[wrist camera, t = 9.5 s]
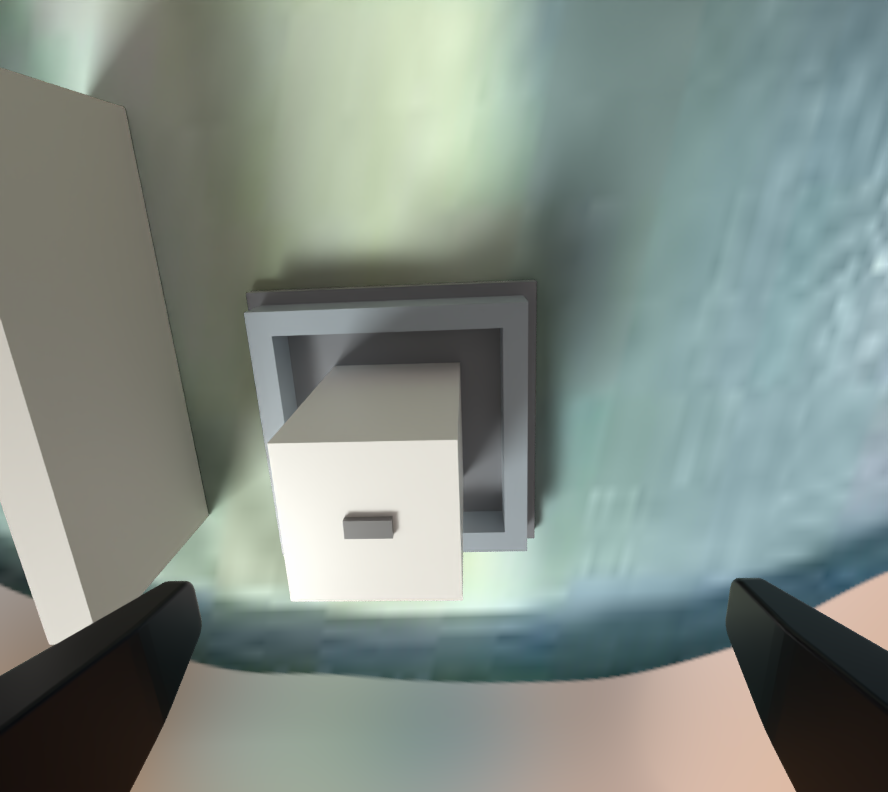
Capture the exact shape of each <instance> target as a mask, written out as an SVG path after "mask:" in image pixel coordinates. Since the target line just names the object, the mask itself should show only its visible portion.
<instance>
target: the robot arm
mask: <svg viewBox="0 0 888 792" xmlns="http://www.w3.org/2000/svg"><path fill="white" fill-rule="evenodd" d="M201 627H202V620H201V615H200V611H199V606H198V602H197V598H196V594H195V589H194V586H193V585H192V584H191V583H190V582H188V581H167V582H164V583H162V584H160V585H159V586H157V587H155V588H153V589H152V590H150V591H148V592H146V593H145V594H143V595H141V596H139V597H138V598H136V599H134V600H132V601H131V602H129V603H127V604H125V605H124V606H122V607H120V608H118V609H117V610H115V611H113V612H111V613H110V614H108V615H106V616H104V617H103V618H101V619H99V620H97V621H96V622H94V623H92V624H90V625H89V626H87V627H85V628H83V629H82V630H80V631H78V632H76V633H75V634H73V635H71V636H69V637H68V638H66V639H64V640H62V641H61V642H59V643H57V644H55V645H54V646H52V647H50V648H48V649H46V650H45V651H43V652H41V653H39V654H38V655H36V656H34V657H33V658H31V659H29V660H27V661H25V662H24V663H22V664H20V665H18V666H17V667H15V668H13V669H11V670H10V671H8V672H6V673H4V674H3V675H1V676H0V792H130V790H131V788H132V787H133V785H134V782H135V781H136V779H137V777H138V775H139V773H140V771H141V769H142V767H143V765H144V763H145V761H146V759H147V757H148V755H149V753H150V751H151V749H152V747H153V745H154V743H155V741H156V739H157V737H158V735H159V733H160V731H161V729H162V727H163V725H164V723H165V720H166V718H167V716H168V714H169V711H170V709H171V707H172V704H173V702H174V699H175V696H176V694H177V691H178V689H179V686H180V684H181V681H182V679H183V676H184V674H185V671H186V669H187V666H188V664H189V661H190V659H191V656H192V654H193V651H194V649H195V646H196V644H197V641H198V638H199V636H200V632H201ZM726 630H727V634H728V637H729V639H730V642H731V644H732V647H733V650H734V652H735V655H736V657H737V660H738V662H739V665H740V668H741V670H742V673H743V675H744V678H745V680H746V683H747V685H748V688H749V690H750V693H751V696H752V698H753V701H754V703H755V706H756V709H757V711H758V714H759V716H760V719H761V721H762V723H763V726H764V728H765V730H766V733H767V734H768V737H769V739H770V741H771V743H772V745H773V747H774V749H775V751H776V753H777V755H778V757H779V759H780V761H781V763H782V765H783V767H784V769H785V771H786V773H787V775H788V777H789V779H790V781H791V782H792V784H793V786H794V788H795V790H796V792H888V651H887V650H885V649H883V648H882V647H880V646H878V645H876V644H875V643H873V642H871V641H870V640H868V639H866V638H864V637H863V636H861V635H859V634H857V633H856V632H854V631H852V630H850V629H849V628H847V627H845V626H844V625H842V624H840V623H838V622H836V621H835V620H833V619H831V618H830V617H828V616H826V615H824V614H823V613H821V612H819V611H818V610H816V609H814V608H812V607H811V606H809V605H807V604H805V603H804V602H802V601H800V600H798V599H797V598H795V597H793V596H791V595H790V594H788V593H786V592H785V591H783V590H781V589H779V588H778V587H776V586H774V585H772V584H771V583H769V582H767V581H765V580H763V579H761V578H736V579H735V580H733V582H732V583H731V587H730V593H729V600H728V607H727V614H726Z"/></svg>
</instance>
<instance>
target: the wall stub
mask: <svg viewBox="0 0 888 792" xmlns="http://www.w3.org/2000/svg"><path fill="white" fill-rule="evenodd" d="M0 502H1V505H2V508H3V511H4V514H5V516H6V519H7V522H8V525H9V528H10V531H11V534H12V537H13V540H14V543H15V546H16V549H17V552H18V555H19V558H20V561H21V563H22V566H23V569H24V572H25V575H26V578H27V581H28V584H29V587H30V590H31V593H32V596H33V599H34V602H35V605H36V608H37V610H38V613H39V616H40V619H41V622H42V625H43V628H44V631H45V634H46V637H47V640H48V642H49V644H57V643H59V642H61V641H62V640H64V639H66V638H68V637H69V636H71V635H73V634H75V633H76V632H78V631H80V630H82V629H83V628H85V627H87V626H89V625H90V624H92V623H94V622H96V621H97V620H99V619H101V618H103V617H104V616H106V615H108V614H110V613H111V612H113V611H115V610H117V609H118V608H120V607H122V606H124V605H125V604H127V603H129V602H131V601H132V600H134V599H136V598H138V597H139V596H141V595H142V593H143V592H144V591H145V590H146V589H147V588H148V586H149V585H150V584H151V583H152V582H153V581H154V579H155V578H156V577H157V576H158V575H159V573H160V572H161V571H162V570H163V569H164V568H165V566H166V565H167V564H168V563H169V562H170V561H171V559H172V558H173V557H174V556H175V555H176V554H177V552H178V551H179V550H180V549H181V548H182V547H183V545H184V544H185V543H186V542H187V541H188V540H189V538H190V537H191V536H192V535H193V534H194V533H195V531H196V530H197V529H198V528H199V527H200V526H201V524H202V523H203V522H204V521H205V520H206V518H207V517H208V516H209V514H208V509H207V504H206V499H205V495H204V490H203V485H202V480H201V475H200V470H199V465H198V460H197V456H196V451H195V446H194V441H193V436H192V431H191V426H190V422H189V417H188V412H187V407H186V402H185V397H184V392H183V388H182V383H181V378H180V373H179V368H178V363H177V358H176V353H175V349H174V344H173V339H172V334H171V329H170V324H169V319H168V315H167V310H166V305H165V300H164V295H163V290H162V285H161V281H160V276H159V271H158V266H157V261H156V256H155V251H154V246H153V242H152V237H151V232H150V227H149V222H148V217H147V212H146V208H145V203H144V198H143V193H142V188H141V183H140V178H139V174H138V169H137V164H136V159H135V154H134V149H133V144H132V140H131V135H130V130H129V125H128V120H127V115H126V110H125V107H123V106H119V105H116V104H113V103H110V102H107V101H104V100H101V99H97V98H94V97H91V96H88V95H85V94H82V93H79V92H76V91H72V90H69V89H66V88H63V87H60V86H57V85H54V84H50V83H47V82H44V81H41V80H38V79H35V78H32V77H29V76H25V75H22V74H19V73H16V72H13V71H10V70H7V69H3V68H0Z"/></svg>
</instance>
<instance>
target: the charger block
mask: <svg viewBox="0 0 888 792" xmlns="http://www.w3.org/2000/svg"><path fill="white" fill-rule="evenodd" d="M267 446H268V453H269V460H270V466H271V473H272V479H273V486H274V492H275V499H276V506H277V512H278V519H279V525H280V532H281V538H282V545H283V551H284V558H285V565H286V571H287V578H288V584H289V591H290V597H291V601H455V600H463V445H462V410H461V376H460V362H457V363H419V364H382V365H344V366H334V367H333V368H332V370H331V371H330V372H329V373H328V374H327V375H326V376H325V378H324V379H323V380H322V381H321V382H320V383H319V384H318V386H317V387H316V388H315V389H314V390H313V391H312V393H311V394H310V395H309V396H308V397H307V398H306V399H305V401H304V402H303V403H302V404H301V405H300V406H299V407H298V409H297V410H296V411H295V412H294V413H293V414H292V416H291V417H290V418H289V419H288V420H287V421H286V422H285V424H284V425H283V426H282V427H281V428H280V429H279V430H278V432H277V433H276V434H275V435H274V436H273V437H272V439H271V440H270V441H269V442H268V443H267Z"/></svg>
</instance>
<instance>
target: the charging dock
mask: <svg viewBox="0 0 888 792" xmlns="http://www.w3.org/2000/svg"><path fill="white" fill-rule="evenodd" d="M246 298H247V304H248V310H249V311H247V312H244V317H245V324H246V330H247V336H248V342H249V349H250V355H251V361H252V367H253V373H254V380H255V386H256V392H257V398H258V404H259V411H260V417H261V423H262V429H263V436H264V442H265V448H266V454H267V460H268V467H269V473H270V479H271V485H272V491H273V498H274V504H275V510H276V516H277V523H278V529H279V535H280V541H281V547H282V554H283V555H284V551H283V545H282V538H281V532H280V525H279V519H278V512H277V506H276V499H275V492H274V486H273V479H272V473H271V466H270V460H269V453H268V446H267V443H268V442H269V441H270V440H271V439H272V437H273V436H274V435H275V434H276V433H277V432H278V430H279V429H280V428H281V427H282V426H283V425H284V424H285V422H286V421H287V420H288V419H289V418H290V417H291V416H292V414H293V413H294V412H295V411H296V410H297V409H298V407H299V406H300V405H301V404H302V403H303V402H304V401H305V399H306V398H307V397H308V396H309V395H310V394H311V393H312V391H313V390H314V389H315V388H316V387H317V386H318V384H319V383H320V382H321V381H322V380H323V379H324V378H325V376H326V375H327V374H328V373H329V372H330V371H331V370H332V368H333V367H334V366H344V365H382V364H419V363H457V362H460V376H461V410H462V445H463V552H492V551H527V538H534V516H535V414H536V312H537V281H536V280H512V281H487V282H462V283H437V284H412V285H388V286H363V287H338V288H313V289H288V290H264V291H250V292H247V293H246Z"/></svg>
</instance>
